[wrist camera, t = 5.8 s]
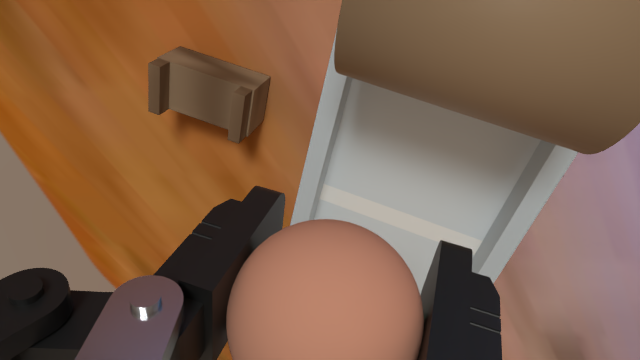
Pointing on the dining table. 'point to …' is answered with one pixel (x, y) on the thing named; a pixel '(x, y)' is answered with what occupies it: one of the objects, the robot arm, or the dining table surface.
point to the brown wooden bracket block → (208, 91)
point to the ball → (324, 298)
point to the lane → (465, 117)
